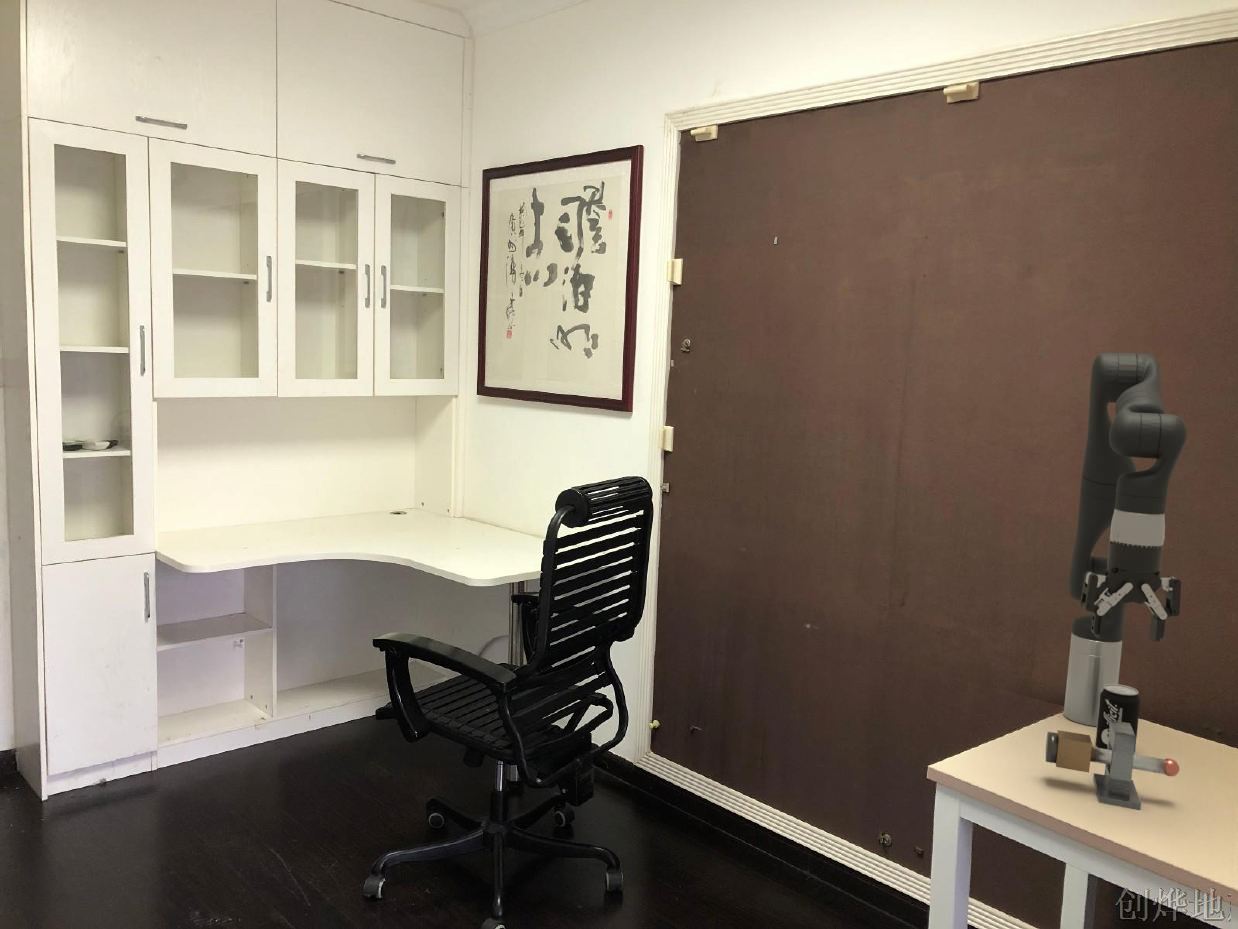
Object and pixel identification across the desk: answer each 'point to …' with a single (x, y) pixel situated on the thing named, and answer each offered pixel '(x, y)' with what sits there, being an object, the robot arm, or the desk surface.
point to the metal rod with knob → (1096, 755)
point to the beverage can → (1116, 710)
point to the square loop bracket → (1119, 769)
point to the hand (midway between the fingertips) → (1126, 638)
